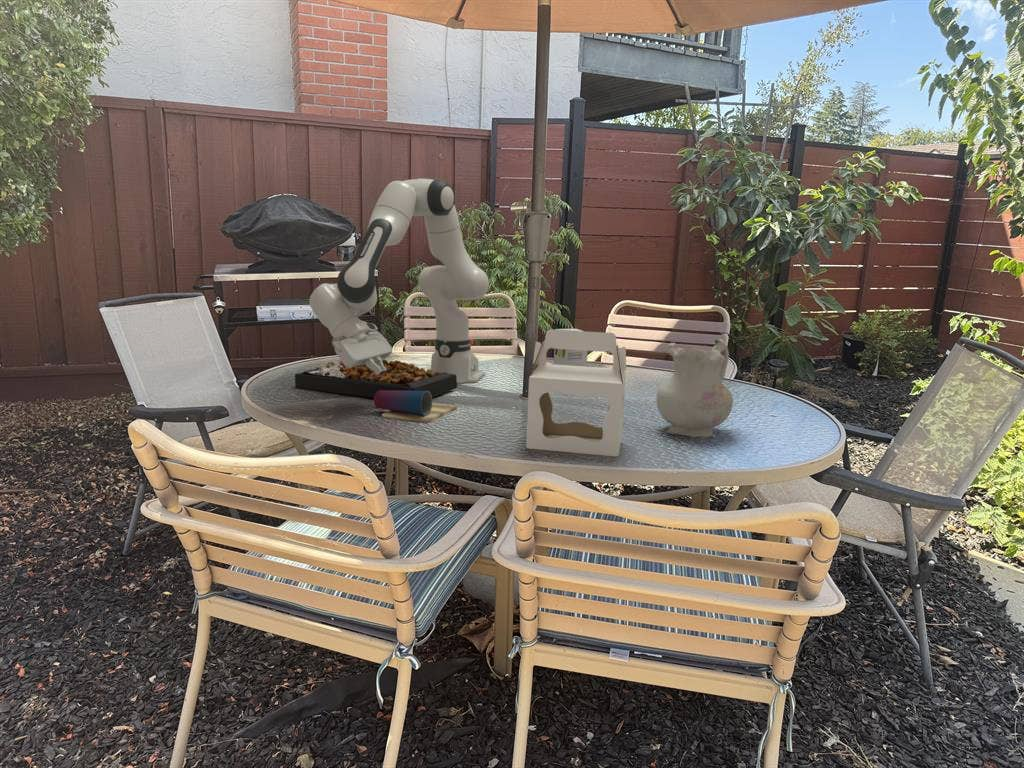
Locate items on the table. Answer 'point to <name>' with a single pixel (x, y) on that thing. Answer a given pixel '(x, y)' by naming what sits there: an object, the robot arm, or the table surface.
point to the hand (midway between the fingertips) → (382, 372)
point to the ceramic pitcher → (696, 391)
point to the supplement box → (570, 356)
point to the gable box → (577, 384)
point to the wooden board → (435, 413)
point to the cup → (404, 401)
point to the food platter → (374, 379)
